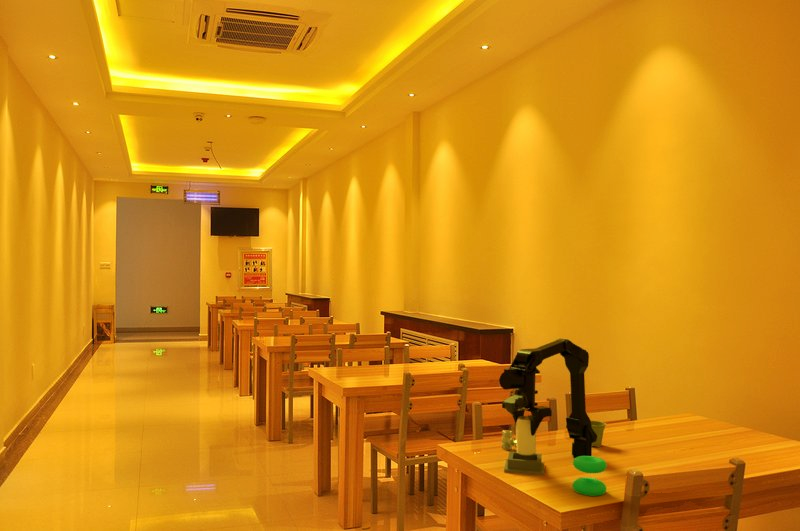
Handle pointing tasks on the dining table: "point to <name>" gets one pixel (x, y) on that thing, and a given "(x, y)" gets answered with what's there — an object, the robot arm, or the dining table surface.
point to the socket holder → (524, 464)
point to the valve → (508, 440)
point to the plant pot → (598, 432)
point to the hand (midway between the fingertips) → (525, 433)
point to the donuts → (589, 484)
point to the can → (525, 437)
